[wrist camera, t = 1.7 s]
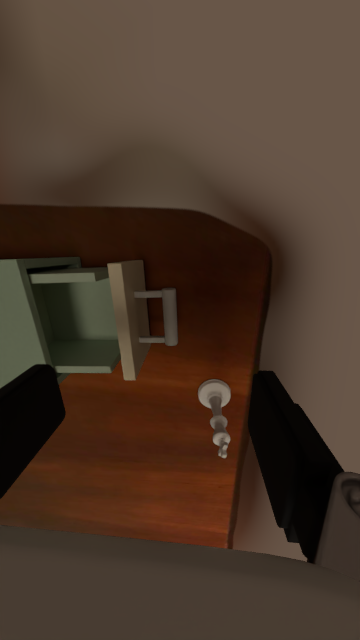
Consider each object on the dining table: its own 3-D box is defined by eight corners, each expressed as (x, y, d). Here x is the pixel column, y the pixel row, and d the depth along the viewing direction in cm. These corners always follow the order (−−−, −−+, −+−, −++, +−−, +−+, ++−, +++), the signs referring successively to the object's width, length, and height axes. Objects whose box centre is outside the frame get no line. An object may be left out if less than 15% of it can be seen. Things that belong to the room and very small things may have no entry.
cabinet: (80, 256, 25) (15, 259, 16) (96, 347, 29) (53, 390, 20) (-28, 260, 26) (-148, 265, 17) (3, 347, 30) (-80, 389, 21)
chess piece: (235, 385, 30) (256, 447, 20) (222, 409, 31) (236, 477, 22) (204, 375, 29) (210, 433, 20) (193, 400, 31) (194, 465, 21)
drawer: (178, 258, 23) (171, 261, 16) (181, 345, 27) (177, 380, 20) (36, 263, 24) (-32, 268, 17) (57, 346, 28) (9, 379, 21)
